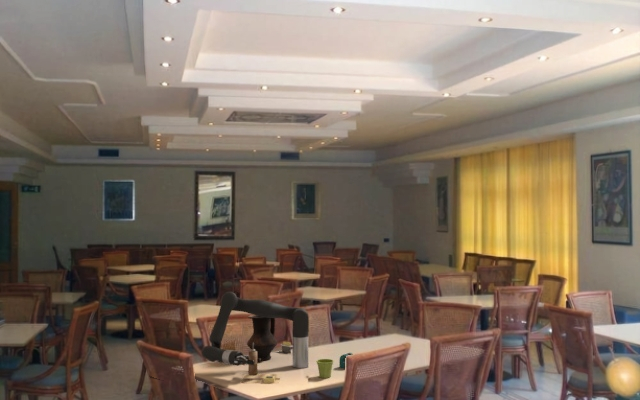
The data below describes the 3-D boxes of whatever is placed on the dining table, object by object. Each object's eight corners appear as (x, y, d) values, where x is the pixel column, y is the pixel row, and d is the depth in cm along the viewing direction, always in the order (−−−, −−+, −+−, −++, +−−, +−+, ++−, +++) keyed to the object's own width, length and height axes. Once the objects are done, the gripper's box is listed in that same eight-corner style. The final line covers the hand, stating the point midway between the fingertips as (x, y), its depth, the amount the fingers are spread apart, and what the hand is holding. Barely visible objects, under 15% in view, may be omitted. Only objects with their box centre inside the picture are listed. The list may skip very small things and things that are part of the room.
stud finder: (274, 379, 338) (274, 375, 338) (274, 382, 332) (274, 378, 332) (265, 379, 338) (265, 375, 338) (264, 382, 332) (264, 378, 332)
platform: (284, 349, 420) (284, 339, 420) (303, 353, 408) (303, 342, 408) (270, 352, 412) (270, 341, 412) (290, 356, 399) (290, 345, 399)
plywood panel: (280, 376, 349) (280, 374, 349) (278, 385, 331) (278, 383, 331) (244, 376, 349) (244, 374, 349) (240, 385, 331) (240, 383, 331)
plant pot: (319, 379, 342) (319, 363, 342) (314, 375, 351) (314, 359, 351) (335, 378, 345) (335, 362, 345) (330, 374, 354) (330, 358, 354)
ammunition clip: (221, 362, 382) (221, 342, 382) (219, 362, 383) (219, 341, 383) (236, 359, 389) (236, 339, 389) (234, 359, 390) (234, 339, 391)
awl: (257, 373, 341) (257, 341, 342) (256, 375, 337) (257, 343, 337) (248, 373, 341) (249, 341, 342) (248, 375, 337) (248, 343, 337)
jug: (265, 364, 378) (265, 312, 378) (240, 360, 387) (240, 310, 388) (285, 357, 395) (285, 308, 396) (261, 353, 405) (261, 306, 406)
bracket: (339, 367, 369) (339, 354, 369) (345, 365, 374) (345, 352, 374) (366, 372, 358) (366, 358, 359) (372, 369, 364) (372, 356, 364)
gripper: (223, 353, 341) (248, 357, 332) (241, 348, 353) (265, 352, 344) (223, 367, 341) (248, 371, 332) (241, 362, 353) (265, 366, 344)
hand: (256, 361), depth 338 cm, fingers closed on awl, 4 cm apart
